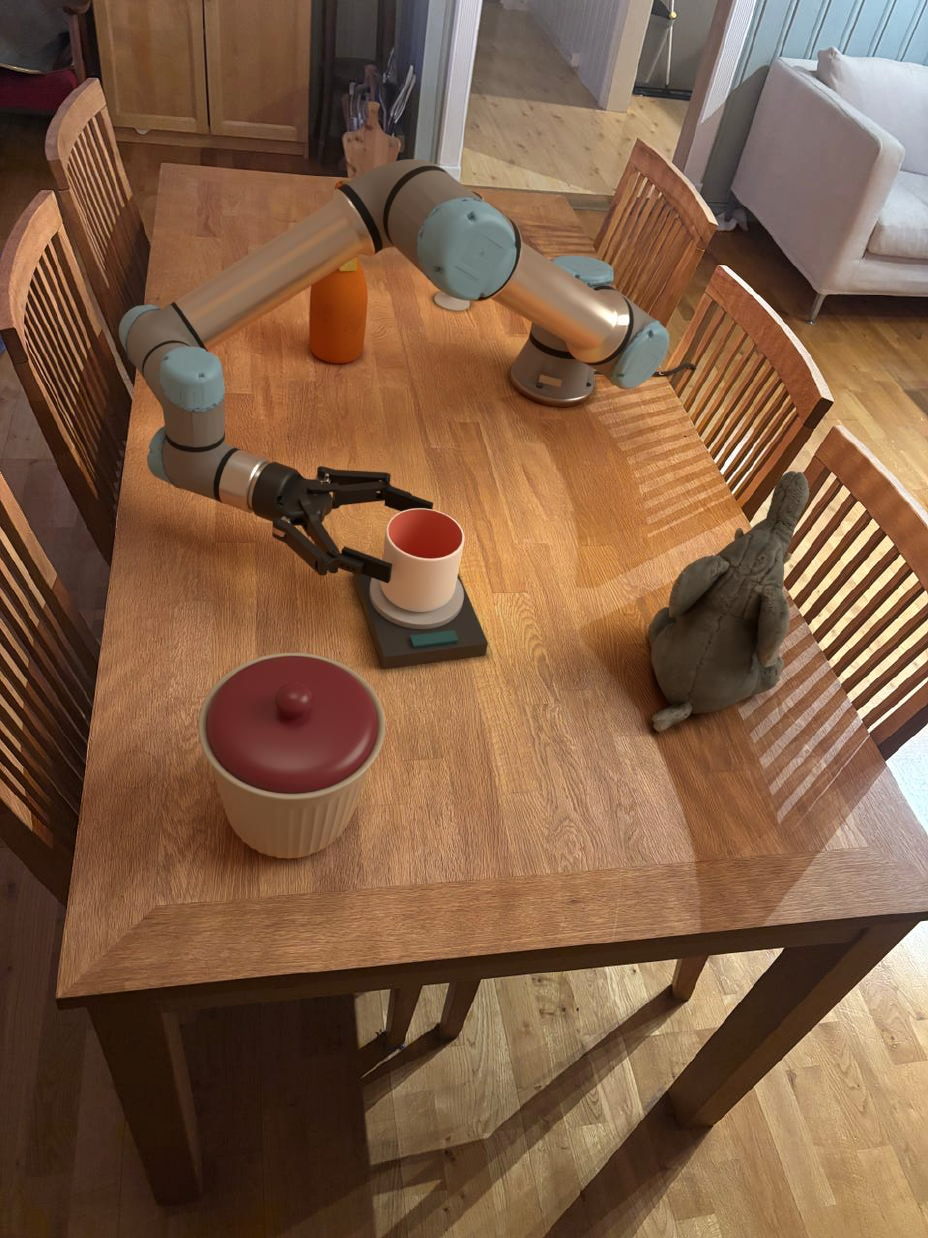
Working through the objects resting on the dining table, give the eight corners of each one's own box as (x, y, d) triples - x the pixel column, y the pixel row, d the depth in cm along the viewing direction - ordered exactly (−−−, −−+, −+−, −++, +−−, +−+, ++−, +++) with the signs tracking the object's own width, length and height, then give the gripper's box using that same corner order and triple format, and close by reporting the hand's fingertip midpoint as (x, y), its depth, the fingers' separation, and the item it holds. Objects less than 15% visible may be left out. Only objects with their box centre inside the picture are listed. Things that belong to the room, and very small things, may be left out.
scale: (448, 567, 138) (452, 549, 136) (485, 655, 127) (489, 638, 125) (352, 577, 134) (354, 559, 132) (382, 669, 123) (384, 651, 121)
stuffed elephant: (733, 614, 140) (807, 463, 121) (790, 729, 126) (884, 580, 107) (608, 617, 136) (664, 461, 117) (653, 737, 122) (725, 582, 103)
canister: (405, 813, 109) (428, 694, 94) (285, 921, 98) (289, 806, 83) (294, 720, 116) (299, 595, 101) (170, 811, 105) (154, 686, 90)
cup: (445, 624, 126) (455, 568, 118) (370, 605, 126) (376, 548, 119) (460, 574, 133) (471, 518, 126) (389, 556, 133) (396, 500, 126)
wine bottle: (299, 357, 171) (304, 185, 149) (319, 331, 177) (326, 164, 156) (352, 372, 170) (365, 201, 149) (370, 345, 177) (385, 178, 155)
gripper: (305, 461, 138) (442, 510, 135) (214, 565, 121) (368, 624, 118) (307, 417, 133) (450, 467, 130) (211, 519, 116) (373, 579, 113)
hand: (411, 541), depth 124 cm, fingers open, 13 cm apart
